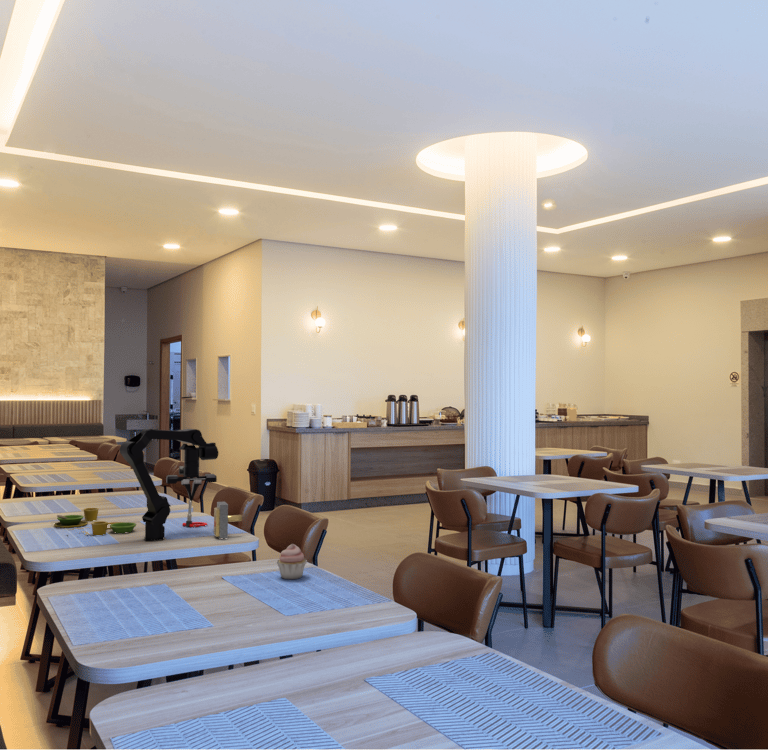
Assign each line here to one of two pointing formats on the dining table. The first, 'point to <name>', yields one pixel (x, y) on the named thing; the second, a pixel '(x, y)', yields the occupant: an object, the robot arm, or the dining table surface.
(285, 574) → the cupcake
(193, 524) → the tow hook
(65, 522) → the tableware set
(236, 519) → the brass pin
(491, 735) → the dining table surface
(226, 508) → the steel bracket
